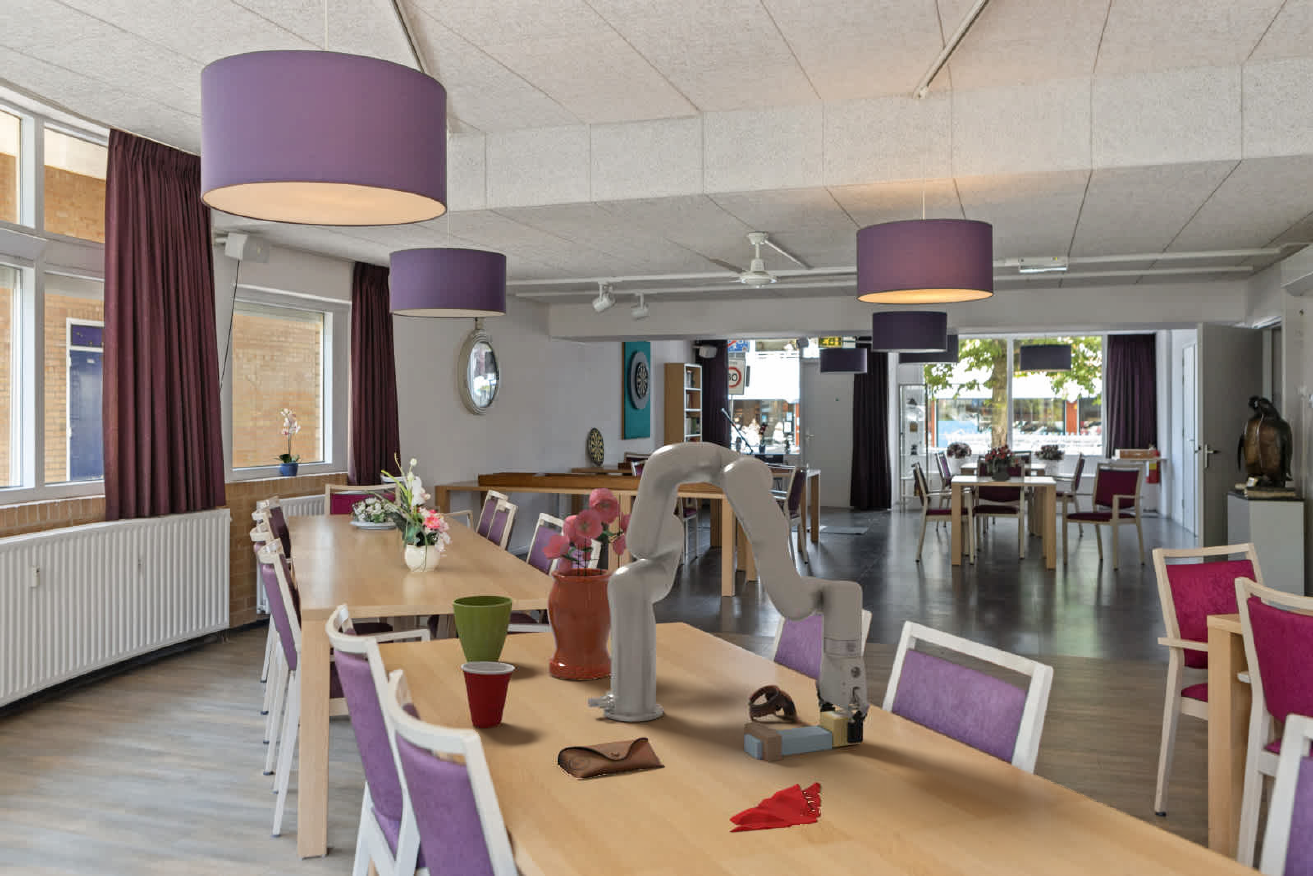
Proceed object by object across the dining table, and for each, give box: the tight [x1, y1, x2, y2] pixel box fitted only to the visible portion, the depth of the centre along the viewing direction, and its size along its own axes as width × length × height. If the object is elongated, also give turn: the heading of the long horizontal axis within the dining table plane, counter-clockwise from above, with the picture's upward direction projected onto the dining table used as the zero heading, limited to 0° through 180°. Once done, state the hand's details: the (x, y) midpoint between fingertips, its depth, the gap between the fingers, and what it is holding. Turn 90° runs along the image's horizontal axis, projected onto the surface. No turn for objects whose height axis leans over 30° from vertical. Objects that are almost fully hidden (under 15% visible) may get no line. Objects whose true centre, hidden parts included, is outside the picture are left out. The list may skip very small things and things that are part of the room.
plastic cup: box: [460, 662, 516, 729], centre depth 203 cm, size 11×11×12 cm
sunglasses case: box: [557, 736, 665, 779], centre depth 179 cm, size 18×7×7 cm
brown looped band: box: [748, 684, 799, 724], centre depth 208 cm, size 12×10×8 cm
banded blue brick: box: [743, 721, 833, 762], centre depth 189 cm, size 16×9×4 cm, turn 112°
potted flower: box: [542, 487, 632, 681], centre depth 245 cm, size 19×25×45 cm
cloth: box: [729, 781, 822, 833], centre depth 160 cm, size 26×14×2 cm, turn 128°
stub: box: [819, 709, 862, 748], centre depth 193 cm, size 6×5×5 cm
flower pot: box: [452, 595, 513, 663], centre depth 253 cm, size 15×15×16 cm
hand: (840, 735), depth 193 cm, fingers open, 9 cm apart
